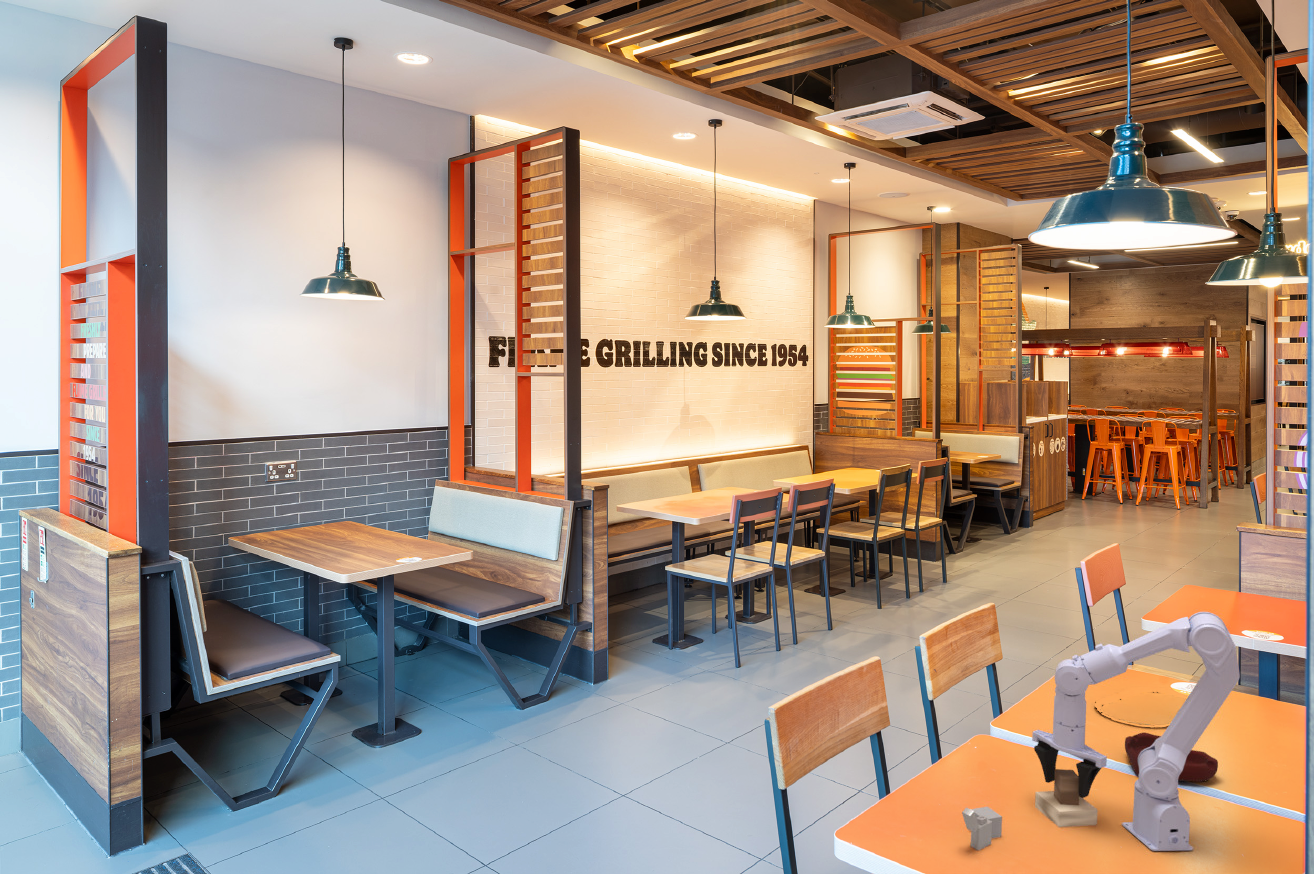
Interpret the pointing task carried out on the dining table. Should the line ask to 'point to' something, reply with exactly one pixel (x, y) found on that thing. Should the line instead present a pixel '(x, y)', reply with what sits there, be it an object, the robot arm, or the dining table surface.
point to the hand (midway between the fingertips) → (1066, 788)
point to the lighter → (978, 829)
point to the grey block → (992, 817)
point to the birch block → (1065, 811)
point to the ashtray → (1195, 765)
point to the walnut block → (1066, 787)
